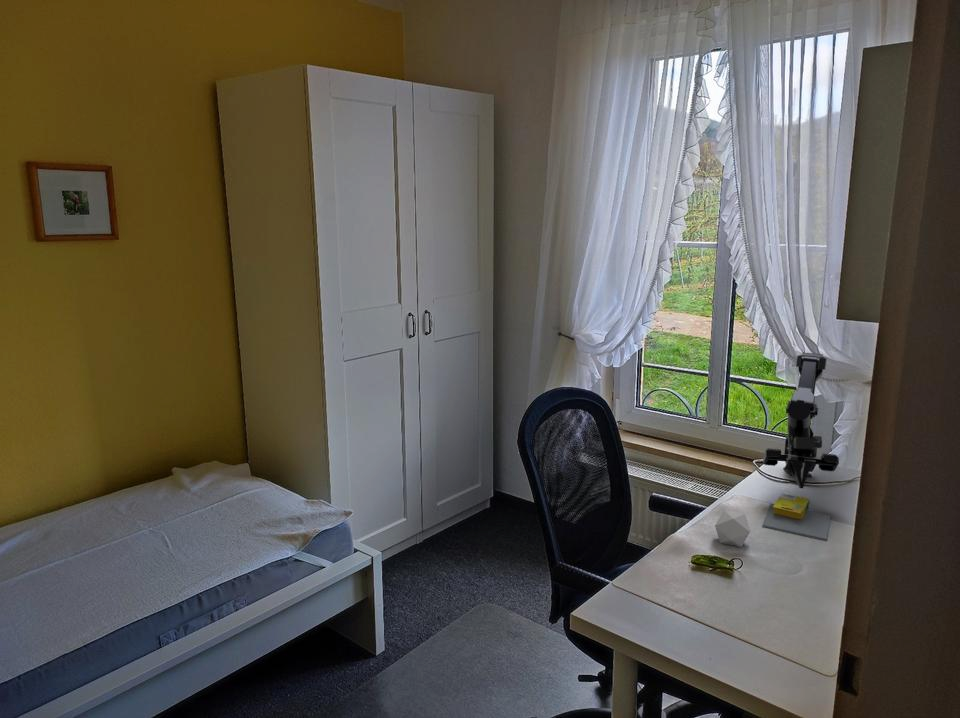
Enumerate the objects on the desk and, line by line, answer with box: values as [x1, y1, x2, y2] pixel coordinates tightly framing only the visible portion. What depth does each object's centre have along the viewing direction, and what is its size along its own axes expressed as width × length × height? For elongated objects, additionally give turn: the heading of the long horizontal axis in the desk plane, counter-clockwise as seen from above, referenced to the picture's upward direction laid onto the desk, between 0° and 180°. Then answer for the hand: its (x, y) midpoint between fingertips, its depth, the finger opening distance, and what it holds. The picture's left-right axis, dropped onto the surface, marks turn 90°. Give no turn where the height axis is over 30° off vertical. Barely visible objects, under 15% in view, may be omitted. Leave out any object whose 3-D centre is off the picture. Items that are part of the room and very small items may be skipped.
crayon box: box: [773, 492, 810, 520], centre depth 190 cm, size 7×3×12 cm
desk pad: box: [761, 503, 832, 542], centre depth 185 cm, size 16×15×1 cm
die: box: [714, 509, 751, 548], centre depth 172 cm, size 8×9×10 cm
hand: (801, 487), depth 190 cm, fingers closed
